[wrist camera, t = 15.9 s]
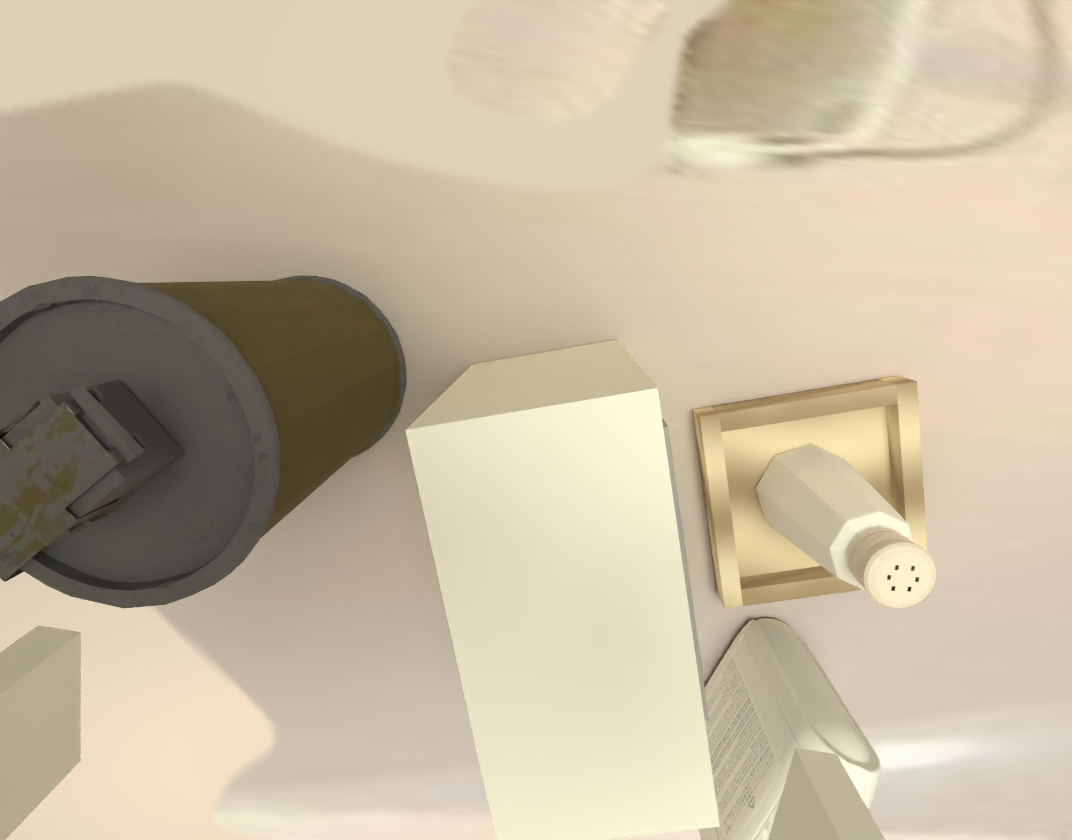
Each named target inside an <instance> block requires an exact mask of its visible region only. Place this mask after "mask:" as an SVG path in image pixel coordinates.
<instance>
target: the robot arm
mask: <svg viewBox="0 0 1072 840" xmlns="http://www.w3.org/2000/svg"><path fill="white" fill-rule="evenodd" d="M79 761H80V632H75V631H69V630H62V629H56V628H50V627H44V626H37V627H36V628H34V629H33V630H31V631H30V632H29V633H27V634H26V635H24V636H23V637H22V638H20V639H19V640H17V641H16V642H14V643H13V644H12V645H10V646H9V647H7V648H6V649H5V650H3V651H2V652H0V840H5V839H6V838H7V837H8V836H9V835H10V834H11V833H12V832H13V831H14V830H15V829H16V828H17V827H18V826H19V825H20V824H21V822H22V821H23V820H24V819H25V818H26V817H27V816H28V815H29V814H30V813H31V812H32V811H33V810H34V809H35V808H36V807H37V806H38V805H39V804H40V803H41V801H42V800H43V799H44V798H45V797H46V796H47V795H48V794H49V793H50V792H51V791H52V790H53V789H54V788H55V787H56V786H57V785H58V784H59V783H60V782H61V780H62V779H63V778H64V777H65V776H66V775H67V774H68V773H69V772H70V771H71V770H72V769H73V768H74V767H75V766H76V764H78V763H79ZM768 840H885V839H884V837H883V835H882V833H881V832H880V830H879V828H878V826H877V825H876V823H875V821H874V819H873V817H872V816H871V814H870V812H869V810H868V809H867V807H866V805H865V803H864V802H863V800H862V798H861V796H860V794H859V793H858V791H857V789H856V787H855V786H854V784H853V782H852V780H851V779H850V777H849V775H848V773H847V771H846V770H845V768H844V766H843V764H842V763H841V761H840V759H839V757H838V756H837V754H832V753H826V752H820V751H813V750H807V749H801V748H795V751H794V754H793V758H792V761H791V764H790V768H789V771H788V774H787V778H786V781H785V785H784V788H783V791H782V795H781V798H780V801H779V805H778V808H777V812H776V815H775V818H774V822H773V825H772V828H771V832H770V835H769V839H768Z"/></svg>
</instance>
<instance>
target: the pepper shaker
mask: <svg viewBox="0 0 1072 840" xmlns="http://www.w3.org/2000/svg"><path fill="white" fill-rule="evenodd" d="M756 492H757V495H758V498H759V501H760V505H761V508H762V511H763V514H764V518H765V521H766V523H767V524H769V525H770V526H771V527H772V528H774V529H775V530H776V531H778V532H779V533H780V534H781V535H783V536H784V537H785V538H786V539H788V540H789V541H790V542H792V543H793V544H794V545H795V546H797V547H798V548H799V549H800V550H802V551H803V552H804V553H806V554H807V555H808V556H809V557H811V558H812V559H813V560H815V561H816V562H817V563H818V564H820V565H821V566H822V567H823V568H825V569H826V570H827V571H829V572H830V573H831V574H833V575H835V576H836V577H838V578H839V579H841V580H843V581H845V582H848V583H850V584H852V585H854V586H856V587H858V588H860V589H863V590H865V591H866V592H867V593H868V595H869V596H870V597H871V598H872V599H873V600H874V601H875V602H877V603H878V604H880V605H882V606H885V607H889V608H905V607H909V606H912V605H914V604H916V603H918V602H920V601H921V600H923V599H924V598H925V597H926V596H927V595H928V594H929V592H930V591H931V589H932V588H933V586H934V583H935V580H936V570H937V569H936V565H935V561H934V560H933V558H932V556H931V555H930V553H929V552H927V551H926V550H925V549H924V548H923V547H921V546H919V545H917V544H915V543H913V540H912V536H911V532H910V528H909V525H908V524H907V522H906V521H905V520H904V519H903V517H902V516H901V515H900V514H899V513H898V512H897V511H896V510H895V509H894V508H893V507H892V506H891V505H890V504H889V503H888V502H887V501H886V500H885V499H884V498H883V497H882V496H881V495H880V494H879V493H878V492H877V491H876V490H875V489H874V488H873V487H872V486H871V485H870V484H869V483H868V482H867V481H866V480H865V479H864V478H863V477H862V476H861V475H860V474H859V473H858V472H857V471H856V470H855V469H854V468H853V466H852V465H851V464H850V463H849V462H848V461H847V460H845V459H843V458H841V457H839V456H837V455H835V454H833V453H831V452H829V451H827V450H824V449H822V448H820V447H818V446H816V445H814V444H809V445H806V446H803V447H800V448H797V449H794V450H791V451H788V452H784V453H781V454H778V455H775V456H774V457H773V459H772V461H771V463H770V464H769V466H768V468H767V470H766V471H765V473H764V475H763V477H762V478H761V480H760V482H759V484H758V485H757V487H756Z"/></svg>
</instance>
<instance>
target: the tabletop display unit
mask: <svg viewBox="0 0 1072 840" xmlns="http://www.w3.org/2000/svg"><path fill="white" fill-rule="evenodd" d="M405 431H406V436H407V440H408V445H409V449H410V454H411V458H412V463H413V467H414V472H415V476H416V481H417V485H418V490H419V494H420V499H421V503H422V508H423V512H424V517H425V521H426V526H427V530H428V535H429V539H430V544H431V548H432V553H433V557H434V562H435V566H436V571H437V575H438V580H439V584H440V589H441V593H442V598H443V602H444V607H445V611H446V616H447V620H448V625H449V629H450V634H451V638H452V643H453V647H454V652H455V656H456V661H457V665H458V670H459V674H460V679H461V683H462V687H463V692H464V696H465V701H466V705H467V710H468V714H469V719H470V723H471V728H472V732H473V737H474V741H475V746H476V750H477V755H478V759H479V764H480V768H481V773H482V777H483V782H484V786H485V791H486V795H487V800H488V804H489V809H490V813H491V818H492V822H493V827H494V831H495V836H496V840H610V839H618V838H627V837H635V836H644V835H652V834H661V833H670V832H678V831H687V830H695V829H704V828H713V827H720V824H719V817H718V810H717V803H716V796H715V789H714V782H713V775H712V768H711V761H710V754H709V747H708V740H707V733H706V726H705V721H709V716H708V709H707V702H706V695H705V688H704V680H703V673H702V666H701V659H700V652H699V645H698V638H697V631H696V624H695V616H694V609H693V602H692V595H691V588H690V581H689V574H688V567H687V560H686V552H685V545H684V538H683V531H682V524H681V517H680V510H679V503H678V496H677V488H676V481H675V474H674V467H673V460H672V453H671V446H670V439H669V431H668V426H667V425H666V423H665V422H664V420H663V419H662V416H661V409H660V402H659V395H658V388H657V387H656V386H655V384H654V383H653V382H652V381H651V380H650V378H649V377H648V376H647V375H646V374H645V372H644V371H643V370H642V369H641V368H640V366H639V365H638V364H637V363H636V362H635V360H634V359H633V358H632V357H631V356H630V354H629V353H628V352H627V351H626V350H625V348H624V347H623V346H622V345H621V344H620V342H619V341H618V340H617V339H616V340H611V341H605V342H599V343H593V344H587V345H582V346H576V347H570V348H564V349H559V350H553V351H547V352H541V353H535V354H530V355H524V356H518V357H512V358H506V359H501V360H495V361H489V362H483V363H477V364H472V365H471V366H470V367H469V368H468V369H467V370H466V371H465V372H464V373H463V374H462V375H461V376H460V377H459V378H458V379H457V380H456V381H455V382H454V383H453V384H452V385H451V386H450V387H449V388H448V389H447V390H446V391H445V392H444V393H443V394H442V395H441V396H440V397H439V398H437V399H436V400H435V401H434V402H433V403H432V404H431V405H430V406H429V407H428V408H427V409H426V410H425V411H424V412H423V413H422V414H421V415H420V416H419V417H418V418H417V419H416V420H415V421H414V422H413V423H412V424H411V425H410V426H409V427H408V428H407V429H406V430H405Z"/></svg>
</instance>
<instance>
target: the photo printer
mask: <svg viewBox="0 0 1072 840" xmlns="http://www.w3.org/2000/svg"><path fill="white" fill-rule="evenodd" d="M705 695H706V702H707V709H708V716H709V721H705V726H706V733H707V740H708V747H709V754H710V761H711V768H712V775H713V782H714V789H715V796H716V803H717V810H718V817H719V824H720V827H713V828H704V829H699V831H700V836H701V840H768V839H769V835H770V832H771V828H772V825H773V822H774V818H775V815H776V812H777V808H778V805H779V801H780V798H781V795H782V791H783V788H784V785H785V781H786V778H787V774H788V771H789V768H790V764H791V761H792V758H793V754H794V751H795V748H801V749H807V750H813V751H820V752H826V753H832V754H837V756H838V757H839V759H840V761H841V763H842V764H843V766H844V768H845V770H846V771H847V773H848V775H849V777H850V779H851V780H852V782H853V784H854V786H855V787H856V789H857V791H858V793H859V794H860V796H861V798H862V800H863V802H864V803H865V805H866V807H867V809H869V807H870V804H871V802H872V799H873V796H874V793H875V790H876V786H877V782H878V778H879V773H880V762H879V759H878V757H877V755H876V753H875V751H874V750H873V748H872V746H871V745H870V743H869V742H868V740H867V738H866V737H865V735H864V733H863V732H862V730H861V729H860V727H859V726H858V724H857V722H856V721H855V719H854V718H853V716H852V715H851V713H850V711H849V710H848V708H847V707H846V705H845V704H844V702H843V700H842V699H841V697H840V696H839V694H838V692H837V691H836V689H835V688H834V686H833V685H832V683H831V681H830V680H829V678H828V677H827V675H826V674H825V672H824V670H823V669H822V667H821V666H820V664H819V663H818V661H817V660H816V658H815V657H814V655H813V654H812V652H811V650H810V649H809V648H808V646H807V645H806V644H805V643H804V642H802V641H800V640H799V638H798V637H797V635H796V633H795V632H794V631H793V630H792V628H791V627H789V626H788V625H787V624H785V623H783V622H781V621H779V620H775V619H770V618H762V619H758V620H756V621H755V620H754V619H753V620H751V621H749V622H748V623H747V624H746V626H745V627H744V628H743V629H742V630H741V631H740V633H739V634H738V635H737V637H736V638H735V640H734V641H733V643H732V645H731V646H730V648H729V649H728V651H727V652H726V654H725V655H724V657H723V659H722V660H721V662H720V663H719V665H718V667H717V668H716V670H715V672H714V673H713V675H712V677H711V678H710V680H709V681H708V683H707V685H706V686H705Z"/></svg>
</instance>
